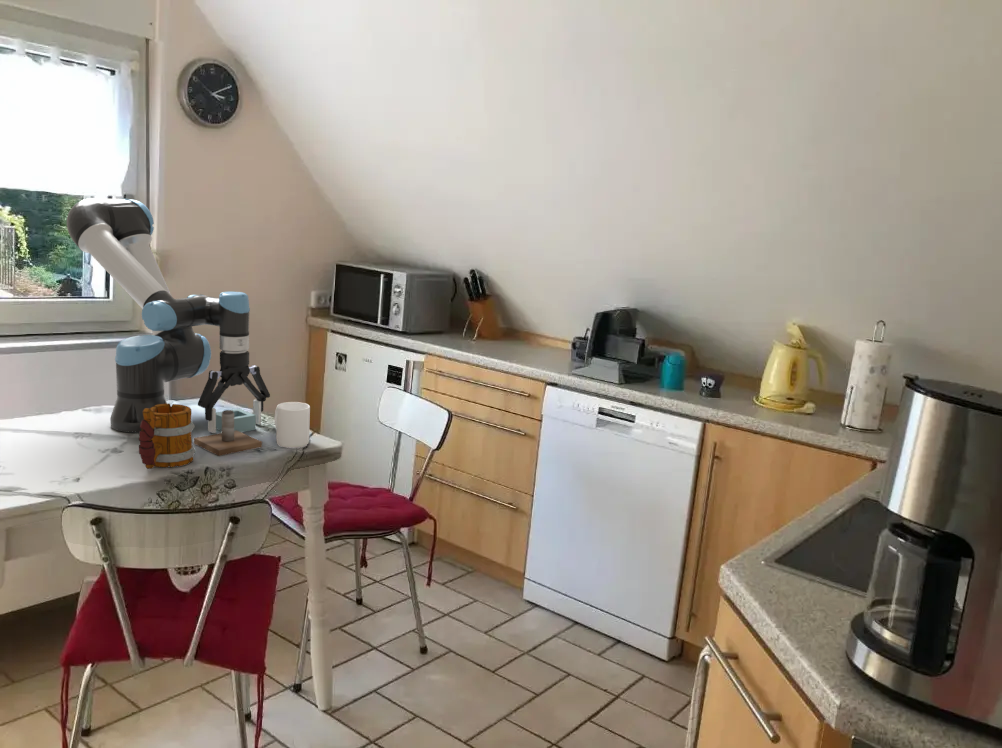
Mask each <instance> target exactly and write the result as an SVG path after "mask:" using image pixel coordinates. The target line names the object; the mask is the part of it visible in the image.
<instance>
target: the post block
mask: <svg viewBox="0 0 1002 748" xmlns="http://www.w3.org/2000/svg"><path fill="white" fill-rule="evenodd" d="M232 410H233V409H226V410H223V413H222V431H221V432H219V433H212V434H208V435H204V436H203V435H202V436H198V437H197V436H196V437H193V444H194V445H195V446H198V447H200V448H201V449H204V450H206V451H208V452H210V453H211V454H214V455H216V456H218V457H221V456H225V455H230V454H236V453H240V452H244V451H245V452H246V451H250V450H255V449H259V448H262V447H263V441H262V440H259V439H257V438H255V437H252V436H250V435H248V434H246V433H244V432H239V431H237V430H235V431H234V412H233V411H232Z"/></svg>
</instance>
